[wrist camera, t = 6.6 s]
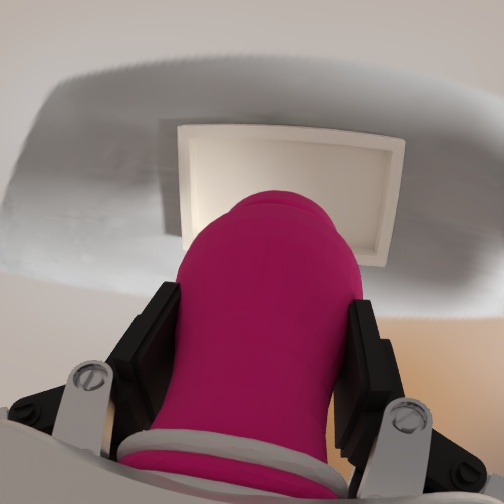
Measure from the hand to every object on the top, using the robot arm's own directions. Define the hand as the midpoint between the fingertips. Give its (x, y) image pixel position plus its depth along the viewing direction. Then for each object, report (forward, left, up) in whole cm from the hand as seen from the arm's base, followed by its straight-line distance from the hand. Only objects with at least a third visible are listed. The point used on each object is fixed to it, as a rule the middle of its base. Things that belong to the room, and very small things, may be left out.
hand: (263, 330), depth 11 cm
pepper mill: (0, 0, -7) cm, 7 cm away
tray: (0, 0, -19) cm, 19 cm away
